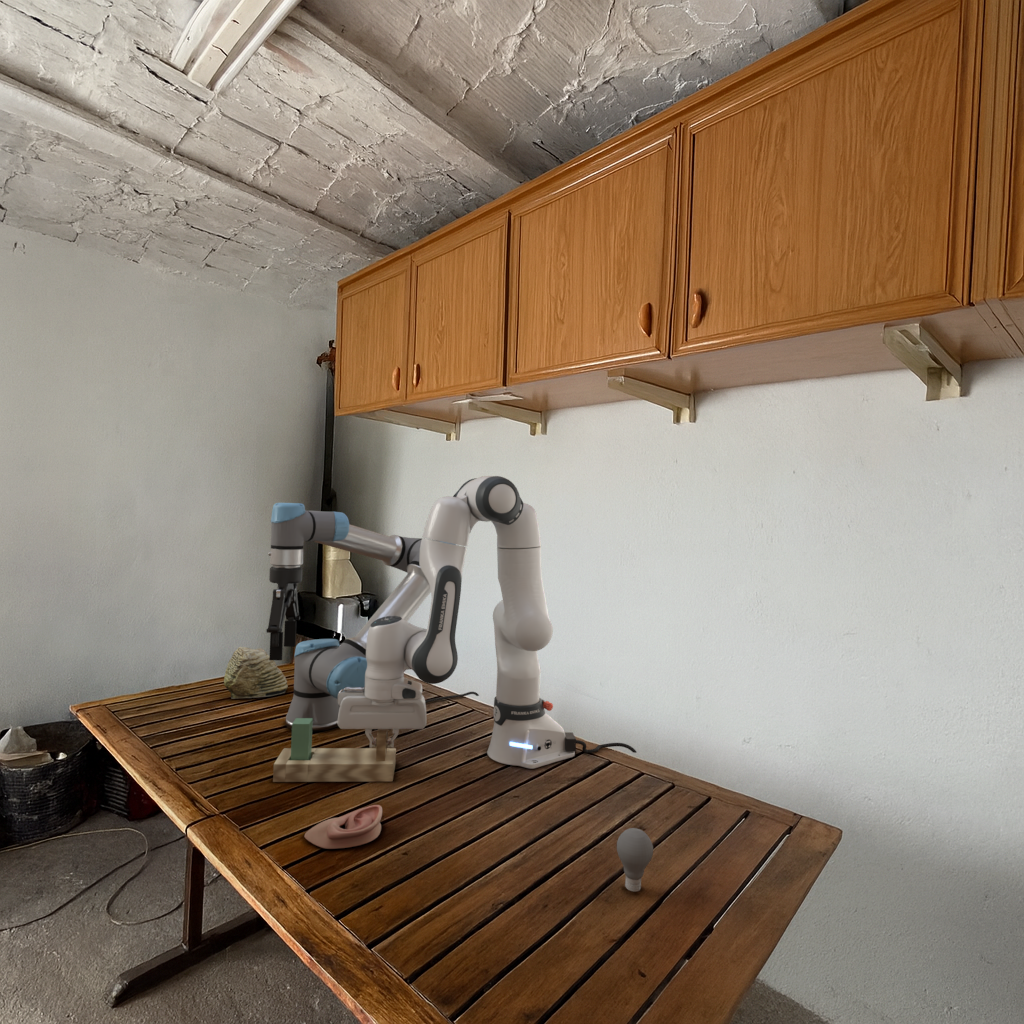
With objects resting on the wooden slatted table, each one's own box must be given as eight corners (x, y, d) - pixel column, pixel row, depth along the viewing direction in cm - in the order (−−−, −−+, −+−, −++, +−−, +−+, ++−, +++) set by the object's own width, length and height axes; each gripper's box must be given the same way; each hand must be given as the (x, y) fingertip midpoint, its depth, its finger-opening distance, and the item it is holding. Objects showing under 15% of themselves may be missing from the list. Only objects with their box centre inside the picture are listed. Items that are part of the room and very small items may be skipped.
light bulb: (610, 878, 109) (613, 821, 108) (645, 878, 109) (647, 821, 109) (619, 901, 103) (622, 840, 103) (655, 900, 103) (658, 839, 103)
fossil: (219, 695, 195) (221, 647, 195) (279, 686, 207) (281, 640, 207) (229, 703, 188) (231, 653, 188) (290, 693, 201) (292, 646, 200)
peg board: (272, 782, 140) (274, 737, 139) (283, 764, 148) (284, 722, 148) (392, 781, 142) (394, 737, 142) (395, 764, 151) (397, 723, 151)
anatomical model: (296, 822, 115) (327, 794, 126) (295, 844, 115) (326, 814, 126) (364, 833, 112) (389, 803, 124) (363, 855, 112) (388, 823, 124)
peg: (293, 769, 146) (295, 718, 146) (310, 769, 147) (312, 718, 146) (290, 776, 142) (292, 723, 142) (307, 776, 143) (309, 723, 143)
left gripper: (283, 560, 166) (280, 640, 166) (255, 571, 141) (251, 666, 142) (312, 561, 167) (309, 641, 167) (290, 572, 142) (286, 666, 143)
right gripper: (335, 691, 142) (333, 752, 142) (427, 691, 144) (425, 752, 144) (340, 682, 148) (338, 741, 148) (428, 683, 150) (425, 741, 151)
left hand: (283, 653), depth 154 cm, fingers open, 13 cm apart
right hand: (381, 746), depth 146 cm, fingers open, 3 cm apart
